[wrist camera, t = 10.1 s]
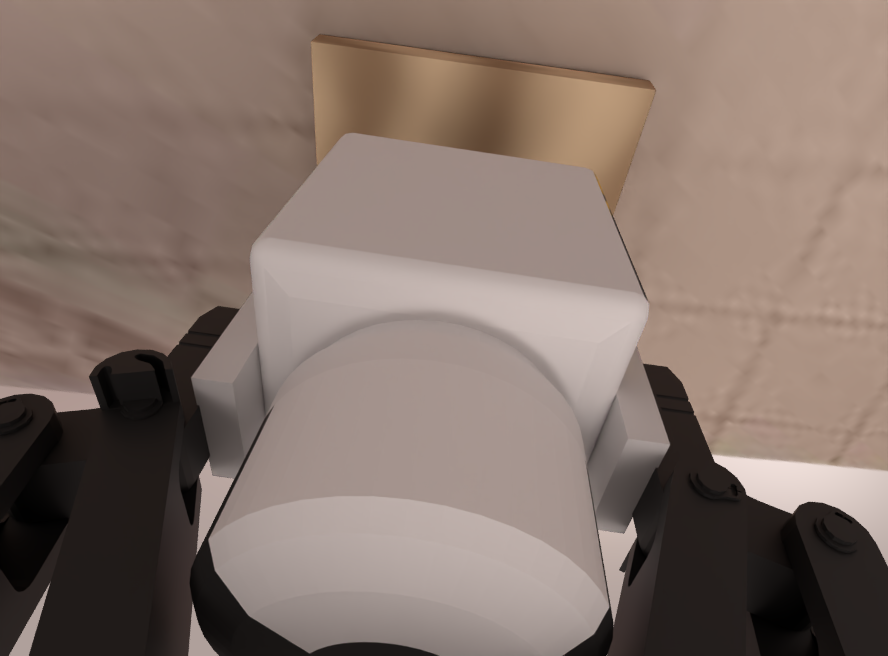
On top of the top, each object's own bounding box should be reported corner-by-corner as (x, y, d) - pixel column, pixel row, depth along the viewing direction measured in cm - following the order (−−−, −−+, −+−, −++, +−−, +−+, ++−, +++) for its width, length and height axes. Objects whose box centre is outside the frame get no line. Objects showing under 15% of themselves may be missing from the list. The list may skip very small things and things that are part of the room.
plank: (325, 188, 31) (318, 200, 30) (319, 34, 26) (310, 41, 25) (600, 227, 31) (604, 240, 30) (649, 80, 26) (656, 90, 25)
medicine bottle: (539, 363, 19) (581, 804, 9) (339, 333, 19) (171, 743, 9) (598, 165, 15) (785, 586, 5) (342, 126, 15) (38, 475, 5)
